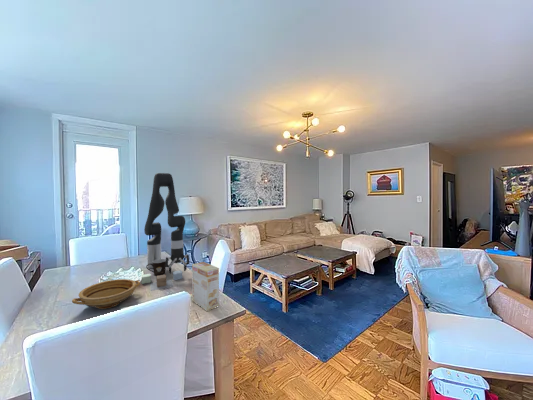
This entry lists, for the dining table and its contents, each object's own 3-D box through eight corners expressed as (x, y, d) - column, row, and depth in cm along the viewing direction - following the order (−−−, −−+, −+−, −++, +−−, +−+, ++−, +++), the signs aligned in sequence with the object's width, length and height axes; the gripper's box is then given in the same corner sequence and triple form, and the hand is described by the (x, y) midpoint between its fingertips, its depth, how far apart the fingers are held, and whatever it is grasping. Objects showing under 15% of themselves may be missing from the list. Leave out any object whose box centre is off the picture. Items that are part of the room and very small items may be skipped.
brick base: (156, 284, 140) (156, 275, 140) (165, 282, 142) (165, 274, 142) (157, 287, 136) (157, 278, 135) (166, 285, 138) (166, 277, 138)
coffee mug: (169, 273, 161) (168, 259, 160) (162, 278, 152) (162, 263, 152) (153, 273, 162) (152, 258, 161) (145, 277, 153) (145, 262, 153)
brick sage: (141, 282, 145) (141, 274, 145) (150, 281, 147) (150, 273, 147) (141, 285, 141) (141, 277, 140) (150, 284, 143) (150, 276, 143)
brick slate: (173, 279, 151) (172, 271, 151) (181, 277, 153) (181, 270, 153) (174, 281, 146) (173, 274, 146) (182, 280, 149) (182, 272, 149)
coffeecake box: (219, 306, 115) (219, 267, 114) (206, 312, 110) (206, 271, 109) (204, 296, 125) (204, 261, 125) (192, 301, 120) (191, 264, 120)
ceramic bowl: (130, 287, 137) (129, 274, 137) (150, 299, 123) (149, 284, 122) (65, 307, 114) (64, 291, 114) (80, 324, 99) (80, 306, 99)
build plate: (150, 284, 141) (150, 283, 141) (171, 281, 147) (171, 279, 147) (150, 292, 131) (150, 290, 131) (173, 288, 136) (173, 286, 136)
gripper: (187, 244, 156) (188, 268, 156) (164, 247, 149) (165, 272, 149) (189, 246, 149) (190, 271, 149) (165, 249, 142) (166, 275, 143)
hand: (177, 272), depth 149 cm, fingers open, 8 cm apart
